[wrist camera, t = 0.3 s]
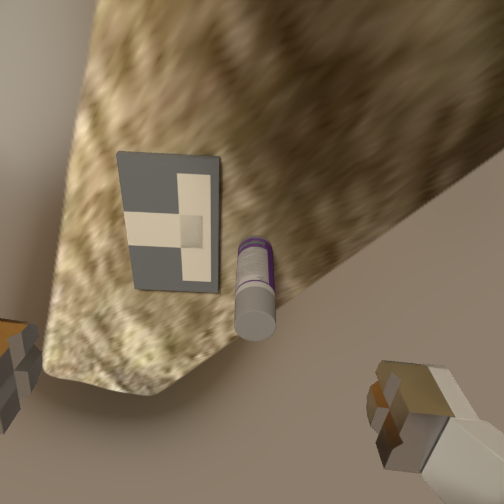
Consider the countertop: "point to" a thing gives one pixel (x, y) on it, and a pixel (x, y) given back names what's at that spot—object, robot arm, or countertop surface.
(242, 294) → the container
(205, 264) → the letter board
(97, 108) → the countertop surface
